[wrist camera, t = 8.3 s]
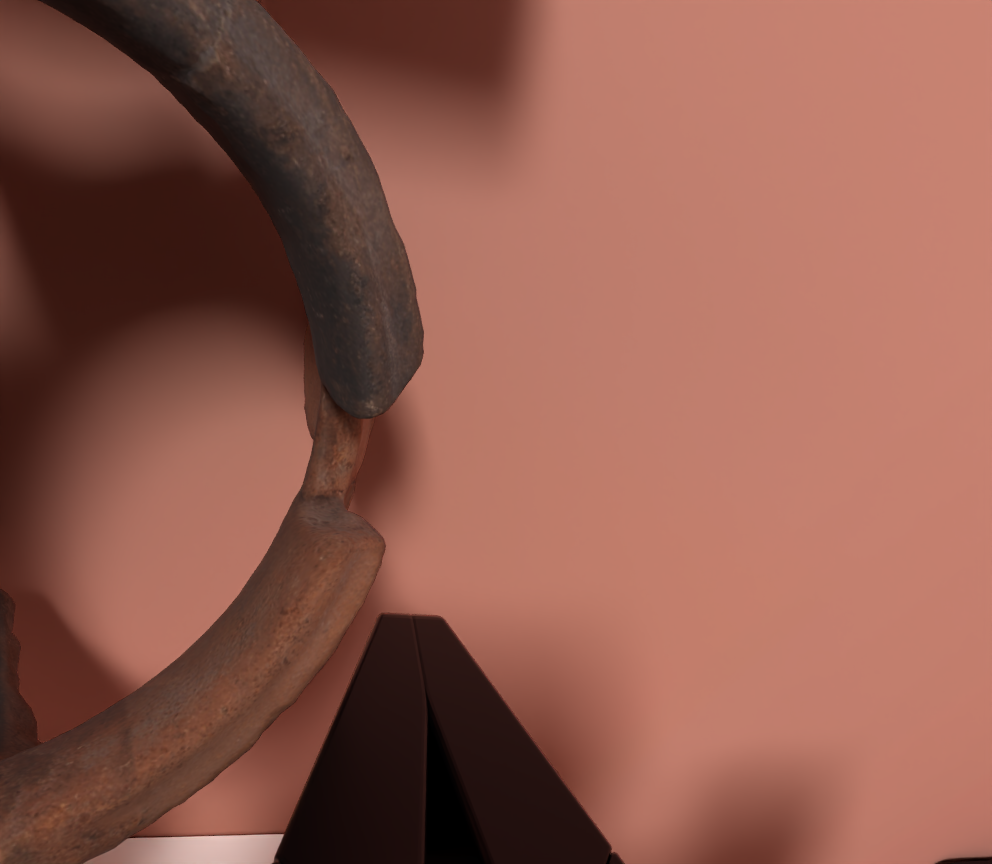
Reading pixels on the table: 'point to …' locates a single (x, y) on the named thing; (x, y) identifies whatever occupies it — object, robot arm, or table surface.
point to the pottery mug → (330, 419)
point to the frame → (194, 850)
